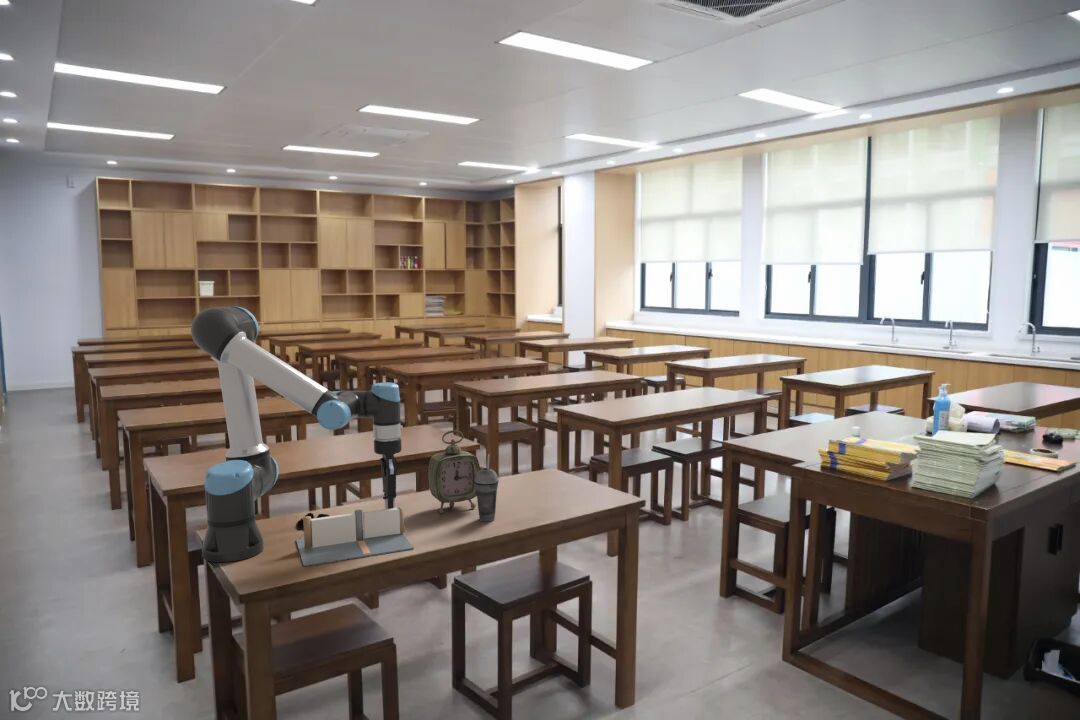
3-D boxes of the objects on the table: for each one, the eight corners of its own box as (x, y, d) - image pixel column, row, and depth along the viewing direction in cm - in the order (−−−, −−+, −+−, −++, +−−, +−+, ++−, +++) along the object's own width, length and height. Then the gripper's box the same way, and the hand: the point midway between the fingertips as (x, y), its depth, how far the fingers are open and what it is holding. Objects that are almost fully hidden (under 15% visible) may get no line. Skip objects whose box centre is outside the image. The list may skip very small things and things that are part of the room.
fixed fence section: (305, 550, 194) (303, 519, 193) (304, 547, 196) (302, 516, 195) (363, 541, 200) (362, 511, 199) (362, 539, 202) (361, 509, 201)
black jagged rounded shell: (334, 530, 211) (333, 513, 211) (298, 535, 207) (297, 518, 207) (329, 518, 222) (328, 502, 222) (295, 522, 218) (294, 506, 218)
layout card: (303, 566, 183) (303, 564, 183) (296, 540, 201) (296, 539, 201) (413, 549, 194) (413, 547, 194) (396, 526, 212) (396, 524, 212)
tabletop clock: (436, 516, 220) (434, 435, 218) (427, 508, 228) (425, 430, 226) (481, 509, 227) (479, 430, 224) (470, 501, 235) (468, 425, 232)
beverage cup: (488, 513, 222) (487, 449, 220) (504, 519, 217) (503, 453, 215) (470, 519, 217) (468, 453, 215) (485, 525, 212) (484, 458, 210)
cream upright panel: (364, 538, 200) (363, 513, 199) (363, 536, 202) (362, 511, 201) (404, 532, 204) (404, 508, 203) (403, 530, 206) (402, 506, 205)
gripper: (405, 442, 198) (407, 525, 201) (397, 432, 210) (399, 511, 213) (377, 444, 196) (380, 529, 198) (370, 434, 207) (373, 514, 210)
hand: (390, 519), depth 206 cm, fingers closed
